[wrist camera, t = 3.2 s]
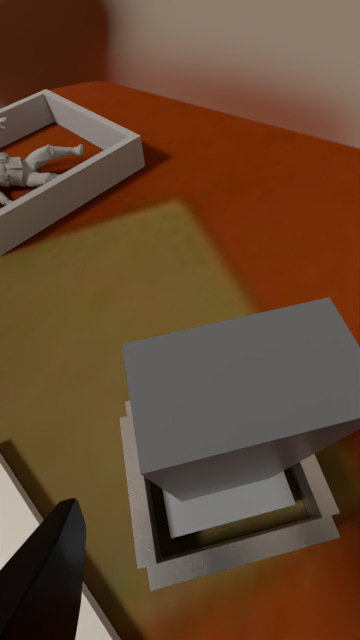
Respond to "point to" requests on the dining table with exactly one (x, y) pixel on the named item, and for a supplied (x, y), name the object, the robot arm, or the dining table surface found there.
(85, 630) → the board
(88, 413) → the dining table surface
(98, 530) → the dining table surface
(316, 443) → the gray pillar
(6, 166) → the soldier figure
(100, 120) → the display rim
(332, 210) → the dining table surface
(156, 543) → the holder
